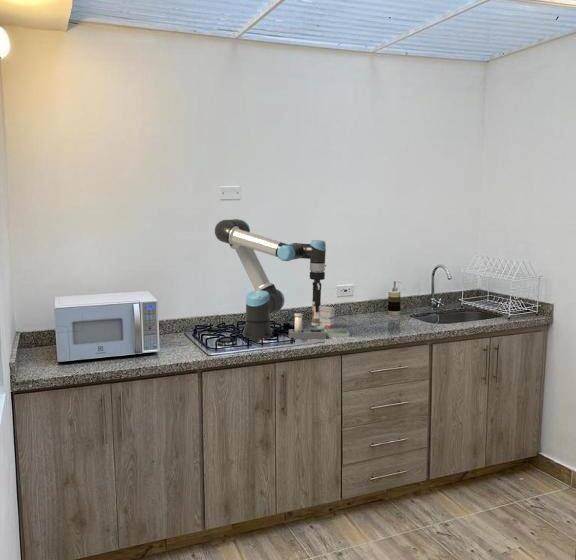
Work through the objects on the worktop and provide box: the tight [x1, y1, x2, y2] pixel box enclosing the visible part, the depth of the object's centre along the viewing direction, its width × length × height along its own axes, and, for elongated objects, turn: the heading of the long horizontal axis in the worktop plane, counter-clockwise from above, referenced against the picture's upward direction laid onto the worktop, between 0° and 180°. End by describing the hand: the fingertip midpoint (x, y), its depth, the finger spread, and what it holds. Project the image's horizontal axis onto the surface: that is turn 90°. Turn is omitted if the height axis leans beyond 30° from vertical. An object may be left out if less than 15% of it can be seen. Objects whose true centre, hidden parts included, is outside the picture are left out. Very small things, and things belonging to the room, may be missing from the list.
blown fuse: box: [311, 301, 321, 327], centre depth 303 cm, size 4×4×12 cm
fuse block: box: [288, 328, 327, 340], centre depth 304 cm, size 18×9×4 cm, turn 95°
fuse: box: [294, 312, 304, 332], centre depth 303 cm, size 4×4×12 cm
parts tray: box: [324, 329, 351, 338], centre depth 311 cm, size 12×9×2 cm
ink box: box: [316, 305, 336, 329], centre depth 328 cm, size 9×5×12 cm, turn 58°
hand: (315, 317), depth 303 cm, fingers closed on blown fuse, 4 cm apart
